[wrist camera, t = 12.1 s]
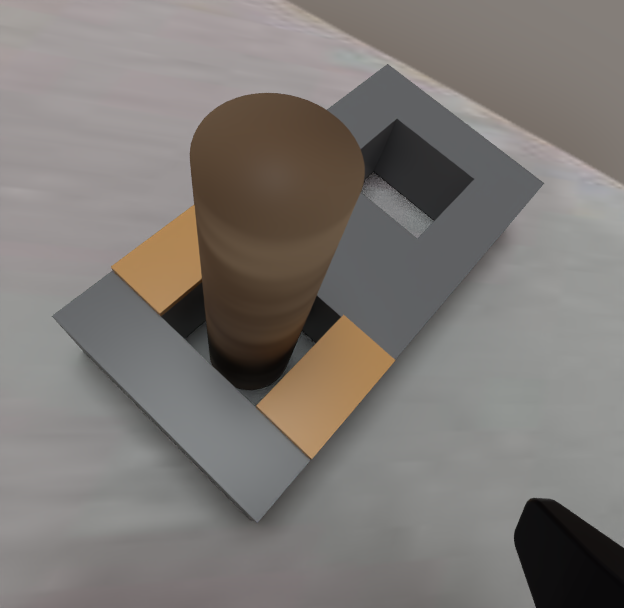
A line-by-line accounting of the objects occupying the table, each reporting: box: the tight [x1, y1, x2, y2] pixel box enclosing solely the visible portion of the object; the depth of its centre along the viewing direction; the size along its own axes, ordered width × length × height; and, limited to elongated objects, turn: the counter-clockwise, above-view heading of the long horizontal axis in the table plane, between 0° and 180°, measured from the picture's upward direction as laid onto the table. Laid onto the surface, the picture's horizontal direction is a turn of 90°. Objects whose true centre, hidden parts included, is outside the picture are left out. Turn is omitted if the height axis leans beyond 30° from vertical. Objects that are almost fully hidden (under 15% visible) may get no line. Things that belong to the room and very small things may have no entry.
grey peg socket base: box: [52, 64, 544, 523], centre depth 22 cm, size 20×10×4 cm, turn 139°
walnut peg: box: [190, 93, 365, 390], centre depth 16 cm, size 4×4×13 cm
